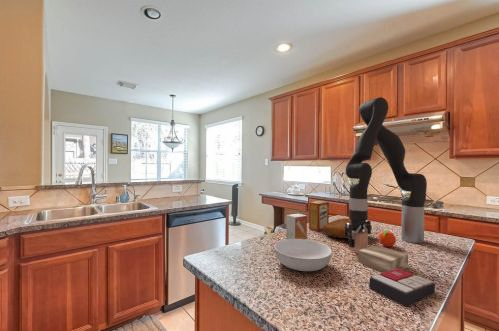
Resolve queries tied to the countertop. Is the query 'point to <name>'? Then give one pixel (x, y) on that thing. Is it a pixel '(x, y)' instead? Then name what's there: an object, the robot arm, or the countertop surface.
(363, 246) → the terracotta block
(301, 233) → the small box
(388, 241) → the clementine
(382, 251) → the birch block
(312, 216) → the baking soda box
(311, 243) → the serving bowl
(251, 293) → the countertop surface
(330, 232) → the clay tablet
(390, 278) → the grey and red box
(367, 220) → the robot arm
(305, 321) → the countertop surface
